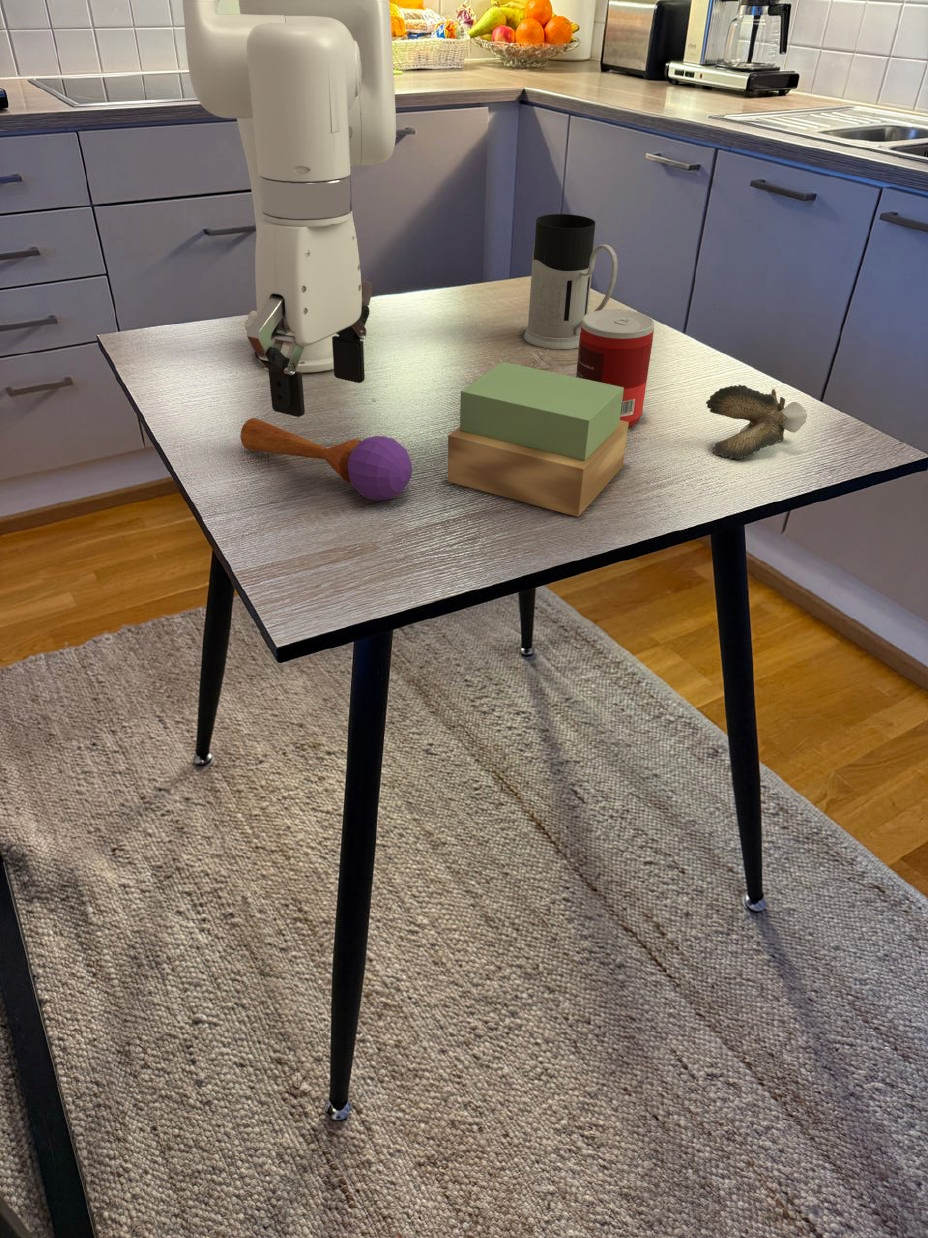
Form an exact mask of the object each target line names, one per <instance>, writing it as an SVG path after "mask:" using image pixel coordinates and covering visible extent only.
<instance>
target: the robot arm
mask: <svg viewBox="0 0 928 1238" xmlns="http://www.w3.org/2000/svg"><path fill="white" fill-rule="evenodd" d="M220 1H221V0H182V11H183V22H184V33H185V34H184V35H185V48H186V49H185V50H186V60H187V66H188V67H187V69H188V73H189V79H190V82H191V87H192V89H193V92H194V95H195V98H196V99H197V101H198V103H199V104H200V105H201V107H203V109H204V110H205V111H207V112H208V113H210V114H212V115H214V116H216V117H218V118H221V119H222V118H223V119H236V122H237V127H238V131H239V135H240V141H241V142H242V143H241V144H242V147H243V152H244V156H245V161H246V166H247V171H248V176H249V182H250V188H251V189H250V190H251V196H252V205H253V213H254V222H255V223H254V224H255V232H256V233H255V234H256V237H255V251H254V254H255V255H254V256H255V257H254V276H255V277H254V278H255V280H254V281H255V302H256V310H251V311H250V312H249V314H248V317H247V319H246V320H245V321H244V330H245V331H246V337H247V339H248V342H249V344H250V345H251V348H252V349H253V351H254V357H255V358H256V359H257V361H258V362H259V363H260V364H261V365H262V368H263V370H266V371H268V379H269V390H270V398H271V407H272V410H273V411H274V412H276V413H279V414H284V415H289V416H292V417H296V418H300V417H302V416H304V415H305V396H304V386H303V384H304V383H303V375H302V374H303V373H304V374H306V373H309V374H310V373H321V372H327V371H332V370H333V375H334V377H335V378H336V379H338V380H343V381H347V382H352V383H357V384H361V383H363V382H364V381H365V380H366V377H365V376H366V375H365V373H366V372H365V353H364V351H365V350H364V341H363V340H365V339H366V336H367V328H366V324H367V321H368V319H369V317H370V312H371V311H370V307H369V306H370V304H371V298H372V293H373V289H374V287H373V284H372V283H371V282H369V281H367V280H366V279H364V278H362V275H361V263H360V252H359V247H358V239H357V233H356V227H355V222H354V217H353V197H352V196H353V193H352V175H351V167H374V166H379V165H383V164H384V163H386V162H388V160H390V158H391V157H392V156H393V153H394V151H395V145H396V140H397V139H396V138H397V113H396V94H395V93H396V92H395V76H394V75H395V74H394V57H393V56H394V55H393V37H392V18H391V17H392V16H391V7H390V6H391V5H390V0H238V7H239V13H237V14H236V13H235V14H231V13H230V14H227V13H226V14H218V6H219V3H220Z"/></svg>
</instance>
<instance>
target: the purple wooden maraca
mask: <svg viewBox="0 0 928 1238" xmlns="http://www.w3.org/2000/svg"><path fill="white" fill-rule="evenodd" d="M239 437H240V442H241V444H242V446H243V448H244V449H246V450H248V451H254V452H262V453H268V454H278V455H286V456H293V457H301V458H311V459H319V460H324V461H325V462H326V463H327V464H328V465H329V466H330V468H332V469H333V470H334V472H336V474H337V475H338V476H339V477H340V478H341V480H343V481H344V482H345V483H347V484H351V485H352V487H353V488H354V489H355V490H356V491H357V492H358V493H359V494H361V495H362V496H363V497H365V498H366V499H369V500H374V501H387V500H391V499H394V498H396V497H398V496H399V495H400V494H401V493H402V492H403V491H404V490H405V489H406V488H407V486H408V485H410V482H411V479H412V474H413V464H412V460H411V457H410V455H409V452H408V450H407V449H406V448H405V447H404V446H403V445H402V444H400V443H399V442H398V441H397V440H396V439H395V438H393V437H389V436H384V435H373V436H370V437H367V438H365V439H362V440H361V439H351V440H349V441H345V442H342V443H339V444H335V445H333V446H329V447H326V446H324V445H323V446H322V445H321V444H318V443H316V442H314V441H311V440H309V439H306V438H304V437H302V436H300V435H297V434H294V433H292V432H290V431H287V430H285V429H283V428H280V427H279V426H275V425H273V424H272V423H268V422H266V421H264V420H262V419H260V418H257V417H252V418H249V419H247V420H246V421H245V422H244V423H243V425H242V427H241V429H240V436H239Z"/></svg>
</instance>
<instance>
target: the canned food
mask: <svg viewBox="0 0 928 1238" xmlns="http://www.w3.org/2000/svg"><path fill="white" fill-rule="evenodd" d="M593 311H594V312H593ZM593 311H591V312H588V314H586V315H585V316H584V317H583V318H582V323H581V331H580V340H579V347H578V353H577V363H576V374H575V375H576V376H575V377H577V378H582V379H586V380H591V381H596V382H600V383H605V384H610V385H615V386H619V387H624V391H623V399H622V407H621V414H620V420H622V421H626V422H629V425H628V428H630V427H633V426H634V425H636V424H637V423H638V422H639V420H640V418H641V416H642V414H643V410H644V409H643V408H644V404H645V403H644V402H645V396H646V389H647V381H648V374H649V370H650V369H649V368H650V362H651V355H652V346H653V341H654V332H655V321H654V319H652V318H651V317H650V316H648V315H646V314H644V313H640V312H638V311H632V310H627V309H613V308H612V309H611V308H610V309H602V310H599V311H595V310H593Z"/></svg>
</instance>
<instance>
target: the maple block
mask: <svg viewBox="0 0 928 1238" xmlns="http://www.w3.org/2000/svg"><path fill="white" fill-rule="evenodd" d="M628 425H629V422H626V421H622V420H620V422H619V426H618V427H617V428H616V429H615V430H614V432H613V433H612V434H611V435H610V436H609V437H608V438H607V439H606V440H605V441H604V442H603V443H602V444H601V445H600V446H599V447H598V448H597V449H596V450H595V451H594V452H593V453H592V454H591V455H590V456H589V457H588V458H587V459H586V460H585V461H583V460H578V459H574V458H570V457H566V456H562V455H558V454H554V453H550V452H546V451H542V450H538V449H534V448H530V447H526V446H522V445H518V444H514V443H509V442H505V441H501V440H497V439H493V438H489V437H485V436H481V435H477V434H473V433H469V432H465V431H461V430H460V426H458V427H457V428H456V429H454V430H453V431H451V432H450V433H449V434H447V478H446V479H447V480H446V481H447V482H448V483H451V484H454V485H460V486H461V487H466V488H468V489H469V488H470V489H474V490H477V491H481V492H484V493H487V494H492V495H494V496H495V495H496V496H500V497H502V498H507V499H510V500H514V501H518V502H522V503H526V504H529V505H532V506H537V507H540V508H542V509H544V508H545V509H547V510H551V511H555V512H559V513H561V514H566V515H569V516H574V517H576V518H579V517H580V516H581V515H582V514H583V513H584V512H585V510H586V509H587V508H588V507H589V506H590V505H591V503H592V502H593V501H595V499H596V498H597V497H598V495H599V494H601V492H602V491H603V490H604V489H605V487H607V486H608V484H609V483H610V482H611V481H612V480H613V479H614V478H615V477H616V476H617V474H618V473H619V472H620V471H621V470H622V469H623V468H624V461H625V456H626V455H625V454H626V446H627V439H628V432H629V427H628Z"/></svg>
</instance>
